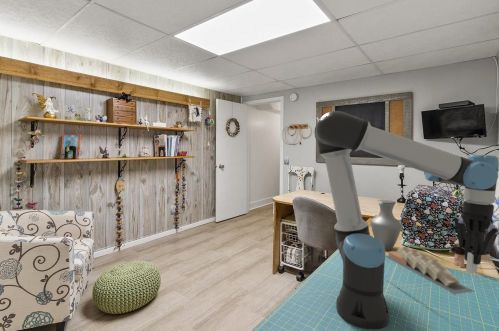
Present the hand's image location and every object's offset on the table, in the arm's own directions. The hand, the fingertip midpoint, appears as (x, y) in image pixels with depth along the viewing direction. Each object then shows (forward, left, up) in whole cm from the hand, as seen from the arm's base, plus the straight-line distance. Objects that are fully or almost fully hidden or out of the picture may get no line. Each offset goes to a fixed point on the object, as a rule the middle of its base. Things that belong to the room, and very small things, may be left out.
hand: (471, 271), depth 84 cm
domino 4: (+3, +13, -9) cm, 16 cm away
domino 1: (+3, +26, -9) cm, 28 cm away
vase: (+8, +47, -11) cm, 49 cm away
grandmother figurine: (+23, +21, -11) cm, 33 cm away
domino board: (+3, +20, -11) cm, 23 cm away
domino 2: (+3, +22, -9) cm, 24 cm away
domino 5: (+3, +8, -9) cm, 12 cm away
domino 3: (+3, +17, -9) cm, 19 cm away
